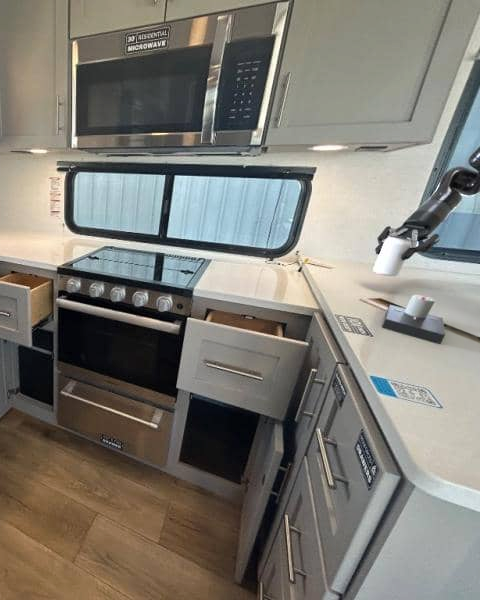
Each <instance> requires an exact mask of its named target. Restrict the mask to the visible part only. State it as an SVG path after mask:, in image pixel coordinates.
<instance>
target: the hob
mask: <svg viewBox="0 0 480 600" xmlns="http://www.w3.org/2000/svg"><path fill="white" fill-rule="evenodd" d="M405 308H406V307H404V308H401V307H397V306H393V305H389V307H388V309H387V311H385V315H384V319H383V321H382V326H381V328H383V329H386V330H389V331H392V332H395V333H399V334H403V335H407V336H411V337H414V338H418V339H420V340H425V341H428V342H431V343H435V344H438V345H440V344H441V343H442V341H443V340H444V338H445V336H446V333H445V324H444V318H443V317H440V316H437V315H432V314H429V313H428V315H427V317H426V318H418V317H414V316H411V315H408V314H406V313H405V310H406V309H405Z"/></svg>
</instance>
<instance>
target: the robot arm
mask: <svg viewBox="0 0 480 600" xmlns="http://www.w3.org/2000/svg"><path fill="white" fill-rule="evenodd" d="M467 163H468V165H469V166H470V167H471V168H473V169H471V168H469V167H466V166H461V165H460V166H455V167H452V168H450V169H448V170H447V171H446V172H445V173H444V174H443V176H442V177H441V179H440V180H439V183H438V185H437V187H436V190H435V191H434V192H433V194H432V195H431V196H430V197H429V198H428V199H427V200H426V201H425V202H424V203H422V204H421V205H420V206H418V208H416V210H414V212H413V213H412V214H411V215H410V216H409V217H408V218H407V219H406V220H405V221H404V222H403V223H402V224H401V225H400V226H399V227H397V228H395V227H394V228H392V226H390V225H388V226H385V228H384V229H383V230H382V232H381V233H380V234H379V235H378V236H377V243H378V245H377V246H376V247H375V249H374V251H375V255H377V256H379V254H380V251H381V249H382V246H383V244H384V242H385V240H386V239H387V238H388V237H389V236H400V237H402V238H405V239H407V238H411V239H412V240H411V243H412V244H411V247H410V248H408V249H407V250H406V251H405V252H404V253H403V254H402V255H401V260H404V262H405V261H407V260H409V259H411V258H412V256H413V255H415V254H416V253H422V254H425V253H426V252H427V251H429V250H430V249H431V248H433V247H434V246H435V245H436V244H437V243H439V242H440V235H439V234H438V233H434V234H432V233H433V232H434V231H435V230H437V228H439V226H441V224H442V223H444V221H445V220H446V219H447V218H448V216H449V215H450V214H451V213H452V212H453V211H454V210H455V209H456V208H457V207H458V206H459V205H460V203H461V202H462V201H463V196H464V197H473V196H475V195H478V194H480V146H478V147H477V149H475V151H474V152H473V153H472V154H471V155H470V156H469V158H468V159H467ZM474 169H475V170H474ZM423 240H425V241H424V242H423V243H422V244H420V245H419V242H422V241H423Z"/></svg>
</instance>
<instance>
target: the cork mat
mask: <svg viewBox="0 0 480 600" xmlns="http://www.w3.org/2000/svg"><path fill="white" fill-rule="evenodd" d="M359 301H360V302H364V303H366V304H368V305H370V306H373V307H375V306H376V308H378V309H380V310H382V309H383V311H385V312H387V309H388V307H389V305H393V306H397V307H401V308H405V309H406V308H407V307H405V306H402V305H399V304H396V303H394V302H392V301H389V300H386V299H384V298H381V297H380V298H379V297H374V298H373V297H372V298H371V297H369V298H368V297H367V298H359Z"/></svg>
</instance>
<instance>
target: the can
mask: <svg viewBox="0 0 480 600" xmlns="http://www.w3.org/2000/svg"><path fill="white" fill-rule="evenodd" d="M411 240H412V239H411V238H407V239H405V238H402V237H400V236H390V235H389V236H388V238H387V239H386V240H385V242H384V244H383V246H382V249H381V251H380V254H379V255H377V259H376V261H375V263H374V266H373V268H372V271H373V273H374V274H378V275H382V276H387V277H397V276H398V275H400V271H401V270H402V267H403V266H404V263H405V261H404V260H401V255H402V254H403V253H404V252H405V251H406V250H407V249H408V248H411V246H412V243H411Z"/></svg>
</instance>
